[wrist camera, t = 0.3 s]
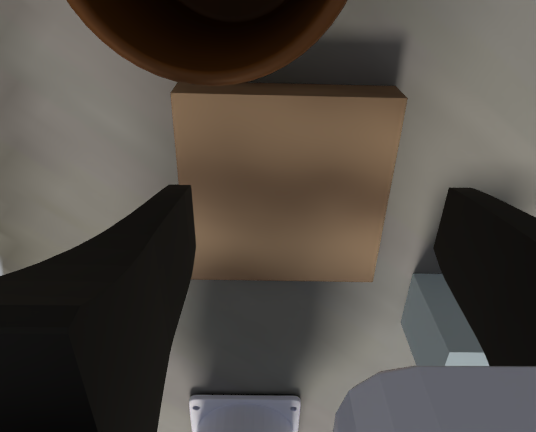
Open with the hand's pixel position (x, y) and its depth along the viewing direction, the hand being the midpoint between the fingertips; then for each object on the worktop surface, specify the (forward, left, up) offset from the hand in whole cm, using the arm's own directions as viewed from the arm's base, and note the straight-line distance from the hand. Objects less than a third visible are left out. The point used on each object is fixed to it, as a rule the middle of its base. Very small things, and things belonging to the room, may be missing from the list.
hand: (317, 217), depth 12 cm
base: (-4, 0, -10) cm, 10 cm away
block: (-12, -10, -10) cm, 18 cm away
